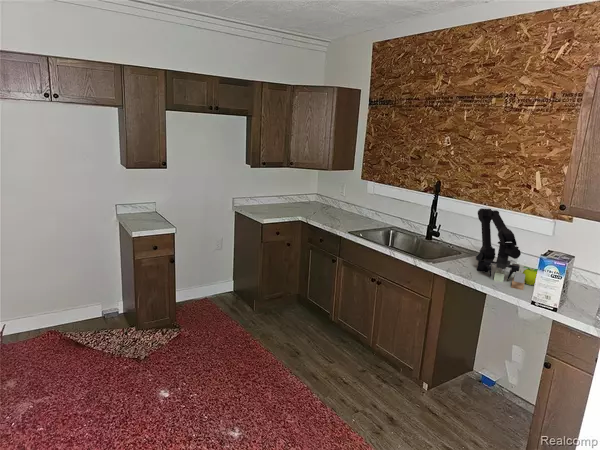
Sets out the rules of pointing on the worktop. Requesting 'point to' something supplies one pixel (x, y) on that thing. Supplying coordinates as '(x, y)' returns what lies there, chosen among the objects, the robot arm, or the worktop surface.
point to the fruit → (530, 275)
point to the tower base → (517, 285)
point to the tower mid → (519, 277)
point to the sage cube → (499, 276)
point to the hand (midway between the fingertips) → (498, 278)
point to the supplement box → (510, 264)
